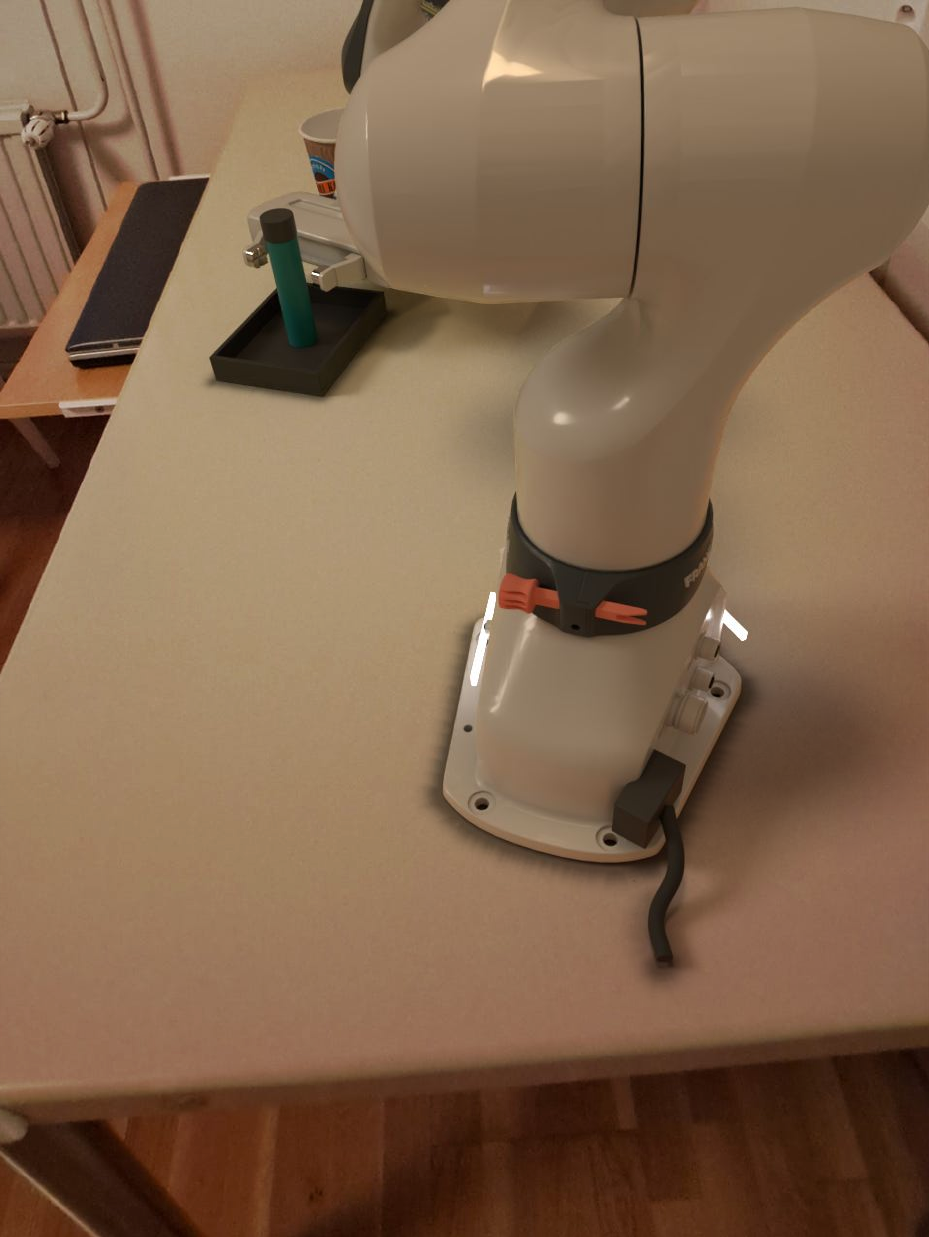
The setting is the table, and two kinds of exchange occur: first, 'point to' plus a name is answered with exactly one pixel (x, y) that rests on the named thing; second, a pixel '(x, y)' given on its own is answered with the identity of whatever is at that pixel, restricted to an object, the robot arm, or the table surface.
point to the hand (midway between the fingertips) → (282, 271)
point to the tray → (274, 363)
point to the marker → (289, 276)
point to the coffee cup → (322, 147)
